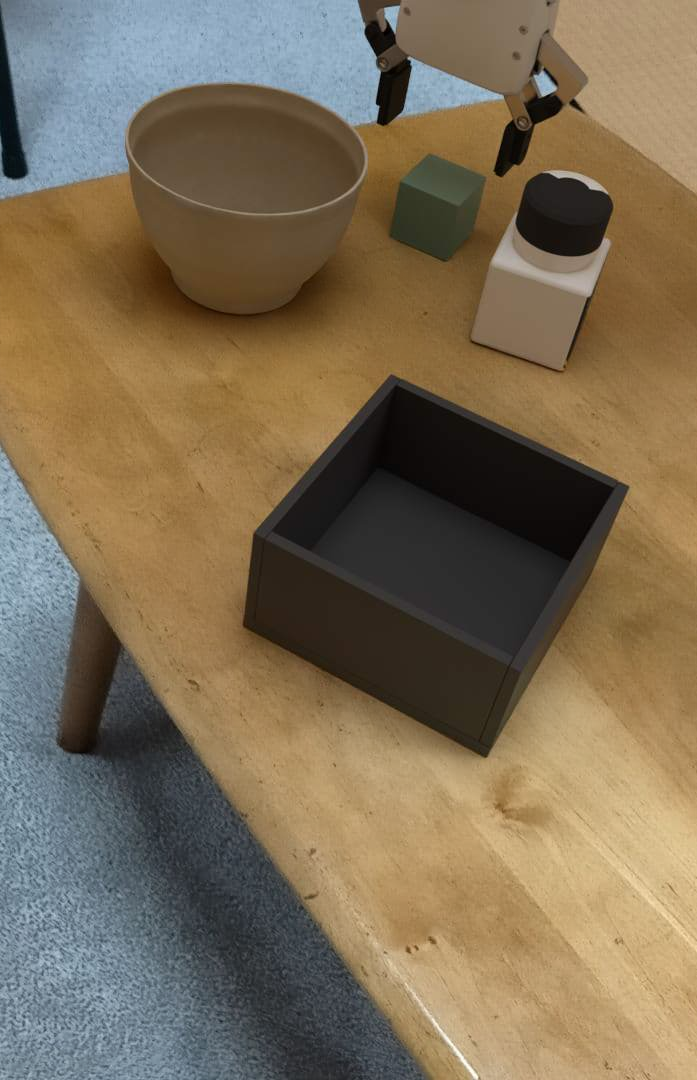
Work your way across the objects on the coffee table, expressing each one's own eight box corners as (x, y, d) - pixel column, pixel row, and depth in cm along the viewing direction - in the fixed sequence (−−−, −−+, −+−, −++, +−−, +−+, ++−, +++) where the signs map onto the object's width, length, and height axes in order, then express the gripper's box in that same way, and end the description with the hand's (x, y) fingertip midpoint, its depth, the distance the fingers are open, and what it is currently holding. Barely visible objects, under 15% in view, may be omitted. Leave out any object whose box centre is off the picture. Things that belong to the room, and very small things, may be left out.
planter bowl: (364, 348, 87) (387, 217, 79) (130, 348, 84) (130, 211, 75) (331, 212, 97) (349, 83, 89) (121, 208, 94) (120, 74, 86)
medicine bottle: (563, 374, 88) (612, 232, 79) (468, 342, 89) (506, 198, 80) (585, 318, 92) (634, 178, 83) (494, 287, 93) (533, 146, 84)
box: (473, 231, 98) (487, 176, 94) (446, 261, 95) (459, 206, 91) (418, 207, 99) (429, 152, 95) (389, 236, 96) (399, 180, 92)
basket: (590, 575, 76) (630, 485, 70) (486, 758, 66) (521, 672, 60) (371, 467, 79) (391, 373, 73) (242, 626, 70) (252, 532, 64)
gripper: (647, -69, 79) (572, 166, 91) (409, -158, 82) (368, 80, 95) (605, -31, 74) (532, 212, 87) (355, -127, 78) (320, 119, 91)
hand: (446, 142), depth 91 cm, fingers open, 9 cm apart
